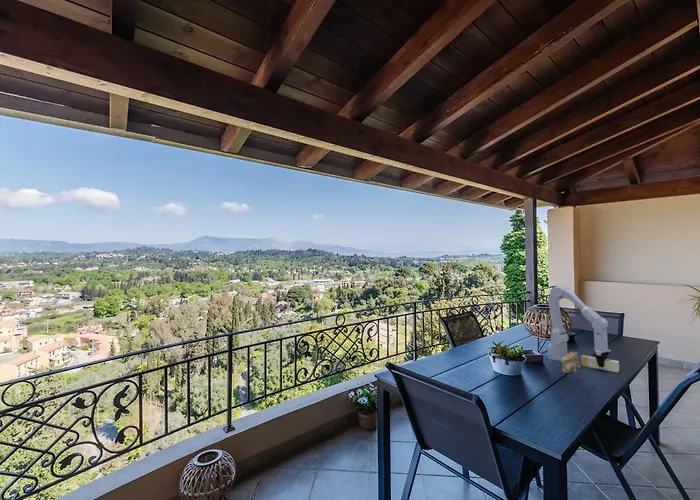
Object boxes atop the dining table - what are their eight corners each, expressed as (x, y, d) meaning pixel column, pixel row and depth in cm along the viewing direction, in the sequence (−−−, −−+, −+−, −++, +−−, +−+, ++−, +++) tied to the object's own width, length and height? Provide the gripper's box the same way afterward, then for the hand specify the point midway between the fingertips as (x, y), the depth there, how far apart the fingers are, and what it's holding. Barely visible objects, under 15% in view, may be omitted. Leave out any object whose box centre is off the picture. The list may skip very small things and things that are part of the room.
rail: (581, 365, 182) (580, 356, 182) (583, 363, 184) (582, 354, 184) (617, 372, 170) (617, 362, 170) (619, 370, 172) (618, 361, 172)
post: (562, 371, 173) (561, 358, 173) (571, 363, 185) (571, 351, 185) (573, 374, 169) (572, 360, 169) (582, 365, 181) (581, 353, 181)
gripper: (607, 344, 169) (608, 370, 168) (612, 339, 178) (613, 364, 178) (590, 342, 174) (591, 367, 174) (597, 337, 184) (598, 361, 183)
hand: (601, 365), depth 176 cm, fingers closed on rail, 4 cm apart
